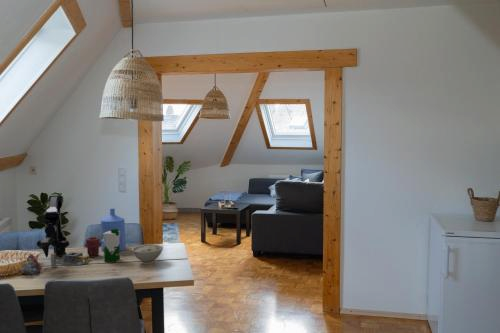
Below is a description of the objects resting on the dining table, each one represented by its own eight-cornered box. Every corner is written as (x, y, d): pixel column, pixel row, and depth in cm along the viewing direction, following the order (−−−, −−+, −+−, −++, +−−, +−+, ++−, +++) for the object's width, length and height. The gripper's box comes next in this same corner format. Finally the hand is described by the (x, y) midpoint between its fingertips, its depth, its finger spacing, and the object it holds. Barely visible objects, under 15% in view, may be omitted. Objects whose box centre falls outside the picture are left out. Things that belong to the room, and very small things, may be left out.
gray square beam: (51, 267, 291) (50, 254, 290) (53, 266, 293) (52, 253, 292) (54, 267, 290) (53, 254, 289) (56, 266, 292) (56, 253, 291)
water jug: (129, 247, 337) (128, 207, 335) (118, 253, 322) (117, 211, 320) (109, 246, 341) (107, 206, 339) (97, 251, 326) (95, 210, 324)
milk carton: (115, 262, 299) (114, 230, 297) (102, 262, 301) (101, 230, 299) (122, 259, 307) (121, 227, 306) (109, 258, 309) (108, 227, 308)
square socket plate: (54, 263, 298) (54, 255, 298) (66, 258, 310) (66, 250, 309) (81, 265, 293) (81, 257, 293) (93, 260, 305) (92, 252, 304)
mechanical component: (89, 253, 321) (103, 254, 320) (82, 257, 311) (97, 258, 310) (88, 235, 320) (103, 235, 319) (81, 238, 310) (96, 239, 309)
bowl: (148, 256, 312) (148, 241, 311) (170, 261, 301) (170, 245, 300) (125, 263, 296) (124, 247, 296) (147, 268, 285) (146, 252, 284)
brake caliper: (48, 266, 283) (38, 253, 276) (37, 282, 276) (26, 269, 268) (33, 264, 288) (22, 251, 280) (22, 280, 280) (11, 267, 272)
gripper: (29, 233, 284) (30, 260, 286) (57, 235, 280) (58, 262, 281) (42, 230, 295) (43, 255, 296) (69, 231, 290) (70, 257, 291)
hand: (53, 257), depth 291 cm, fingers open, 9 cm apart
